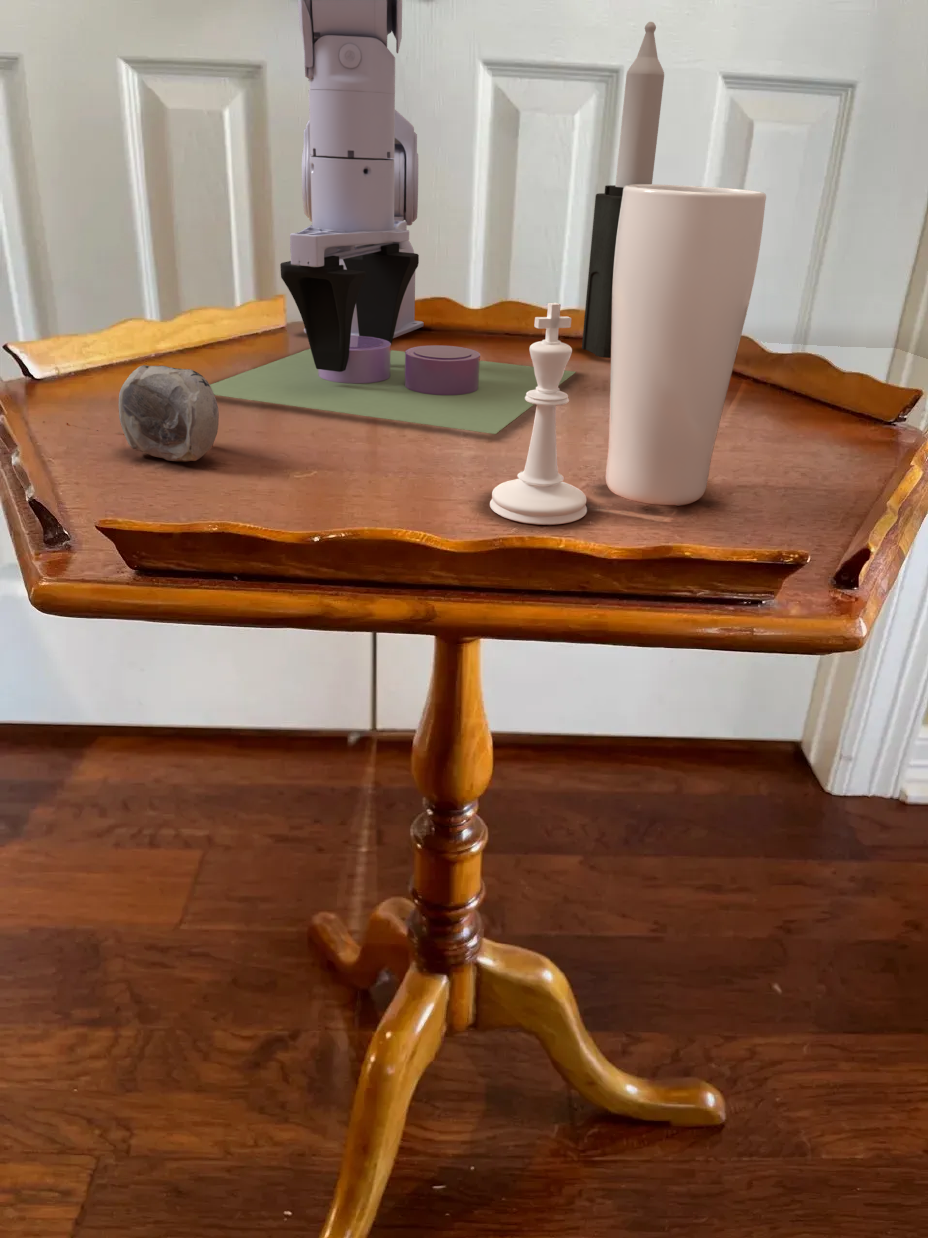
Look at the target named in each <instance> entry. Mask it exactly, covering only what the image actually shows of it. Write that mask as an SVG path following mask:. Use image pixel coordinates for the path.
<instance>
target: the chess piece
mask: <svg viewBox="0 0 928 1238" xmlns="http://www.w3.org/2000/svg"><path fill="white" fill-rule="evenodd" d="M533 327H534V328H536V329H537V330H538V329H539V330H540V329H545V337H544V338H545V339H542V340H540V341H535V342H533V343H532V344H531V345H529V349H528V350H529V354H530V355H529V356H530V359H531V361H532V362H531V363H532V367H534V372H535V377H536V380H537V384H538V386H537V387H536V389H535V390H530V391H528V392H527V393H526V396H525V400H526V401H527V402H529V403H532V404H534V405H536V408H535V414H534V420H533V426H532V430H531V437H530V441H529V445H528V452H527V456H526V461H525V464H524V468H523V470H521V471H520V472H518V473H517V478H515V479H510V480H506V481H504V482H502V483H500V484H498V485H496V486H495V487H494V488H493V489H492V492H491V499H490V501H489V507H490V509H491V511H493V512H494V513H495V514H496V515H498V516H500V517H502V518H505V519H507V520H510V521H514V522H518V523H522V524H529V525H539V526H540V525H541V526H542V525H543V526H546V525H547V526H552V525H553V526H555V525H562V524H569V523H573V522H576V521H579V520H581V519H582V518H584V516H586V515H587V513H588V507H587V505H586V504H587V496H586V494H585V493H584V491H582V490H581V489H580V488H578V487H576V486H574V485H572V484H570V483H568V482H565V481H564V480H565V478H564V477H565V476H563V475H562V473H560V472H559V467H558V451H557V407H559V406H564V405H566V404H568V403H569V401H570V399H569V398H568V397H569V394H567V392H564V391H561V390H560V389H561V388H559V386H560V385H559V383H560V381H561V379H562V377H563V373H564V370H565V371H566V368H567V365H568V363H569V361H570V359H571V356H572V353H573V348H572V347H571V346H570V345H569V344H568V343H565V342H562V341H561V340H560V339H559V329H568V328H569V329H570V328H571V327H572V317H569V316H561V303H558V302H548V303H547V313H546V316H535V317H534V326H533ZM558 385H559V386H558Z"/></svg>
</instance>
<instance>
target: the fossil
mask: <svg viewBox="0 0 928 1238" xmlns="http://www.w3.org/2000/svg"><path fill="white" fill-rule="evenodd" d="M119 390H120V391H119V393H118V418H119V423H120V426H121V429H122V432H123V434H124V437H125V439H126V442H127V445H129V447H130V448H131V449H132V450H135V451H139V452H143V453H145V454H148V455H149V456H152V457H154V458H160V459H163V460H165V461H171V462H190V461H193V462H195V461H198V460H199V459H201V458H202V457H203V456H204V455H206V453H207V452H208V451H209V450H210V449H211V448H212V446H213V445H214V443H215V441H216V437H217V435H218V433H219V431H218V430H219V421H220V420H219V419H220V418H219V417H220V411H219V405H218V402H217V399H216V395H214V393H213V391H212V389H211V387H210V383H209V381H208V380H207V379H206V378H205V377H204V376H203V375H202V374H200V373H199V372H197V371H195V370H193V369H190V368H188V369H187V368H177V367H176V368H175V367H171V366H167V365H148V364H147V365H145V364H143V365H140V366H138V367H137V368H135V369H134V370H133V371H131V373H130V374H129V376H128V377H127V378H126V380H125V381H124V382H123V384H122V385H121V388H120V389H119Z"/></svg>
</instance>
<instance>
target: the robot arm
mask: <svg viewBox="0 0 928 1238" xmlns="http://www.w3.org/2000/svg"><path fill="white" fill-rule="evenodd" d="M297 10H298V11H297V13H298V25H299V31H300V35H301V40H302V47H303V58H304V59H303V62H304V63H303V65H304V77H305V78H307V81H308V83H309V87H308V88H309V89H308V112H309V113H308V116H309V117H308V118H309V119H308V121H307V122H306V125H305V128H304V129H303V149H302V153H301V197H302V207H303V208H302V209H303V213H304V215H305V216H306V217H307V218H308V220H309V221H310V222H311V224H310V225H308V226H307V227H305V228H303V229H302V230H300V231H296V232H292V233H290V234H289V244H290V245H289V246H290V260H288V261H283V262H281V263H280V265H279V267H280V278H281V280H282V282H284V284H285V286H286V287H287V289H288V291H289V292H290V294H291V297H292V298H293V300H294V302H295V305H296V307H297V309H298V312H299V314H300V317H301V320H302V324H303V327H304V328H303V333H304V334H306V336H307V340H308V344H309V349H310V348H311V352H312V356H313V359H314V363H315V366H316V369H321V370H329V371H337V372H342V371H345V370H346V366H347V363H348V358H349V349H350V338H351V336H367V337H375V338H380V339H384V340H387V341H389V342H390V343H391V345H392V344H393V340H394V339H395V338H397V337H401V336H403V335H405V334H407V333H410V332H413V331H415V330H418V329H420V328H423V327H424V326H425V325H424V322H423V321H421V320H416V319H415V314H416V270H417V268H418V267H419V261H420V254H419V253H417V252H415V251H414V248H413V245H412V243H411V242H410V230H409V229H407V227H408V226H412V225H413V223H414V222H415V221H416V220H417V219H418V213H419V212H418V208H419V153H418V134H417V133H416V132H415V127H414V125H413V124H412V123H411V122H410V121H409V120H408V119H407V118H406V117H404V116H403V114H401V113H400V112H399V111H398V110H397V109H396V57H395V56H394V54H393V53H392V52H391V50H390V49H389V48H388V36H389V34H392V35H393V37H394V38H395V41H396V42H395V47H396V49H395V53H396V54H399V52H400V51H399V50H400V47H401V42H402V38H403V0H297Z"/></svg>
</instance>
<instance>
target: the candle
mask: <svg viewBox="0 0 928 1238" xmlns="http://www.w3.org/2000/svg"><path fill="white" fill-rule="evenodd" d="M656 28H657V25H656V24H655V22H654V21H648V22H647V23H646V24H645V26H644V31H645V34H644V36H643V39H642V42H641V44H640V47H639V50H638V53H637V55H636V58H635V59H634V61H633V62H632V63H631V65H630V66H629V68H628V70H627V71H626V75H625V86H624V95H623V105H622V116H621V126H620V136H619V145H618V155H617V156H618V157H617V165H616V174H615V175H616V177H615V185H613V184H612V185H611V184H609V185H604V193H599V192H598V193H596V194H595V199H594V211H593V221H592V232H591V240H590V241H591V244H590V253H589V265H588V277H587V286H586V297H585V308H584V317H583V319H584V320H583V330H582V341H581V342H582V343H581V349H582V350H585V351H588V352H590V353H592V354H594V355H595V356H596V357H599V358H604V359H605V358H606V359H611V325H612V286H613V269H614V256H615V246H616V237H617V229H618V222H619V215H620V208H621V202H622V195H623V188H624V187H625V186H626V185H633V184H653V181H654V180H653V179H654V170H655V162H656V153H657V145H658V137H659V136H658V135H659V125H660V118H661V109H662V101H663V91H664V82H665V71H664V68H663V67H662V64H661V62H660V60H659V56H658V51H657V44H656V37H655V32H656Z"/></svg>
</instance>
